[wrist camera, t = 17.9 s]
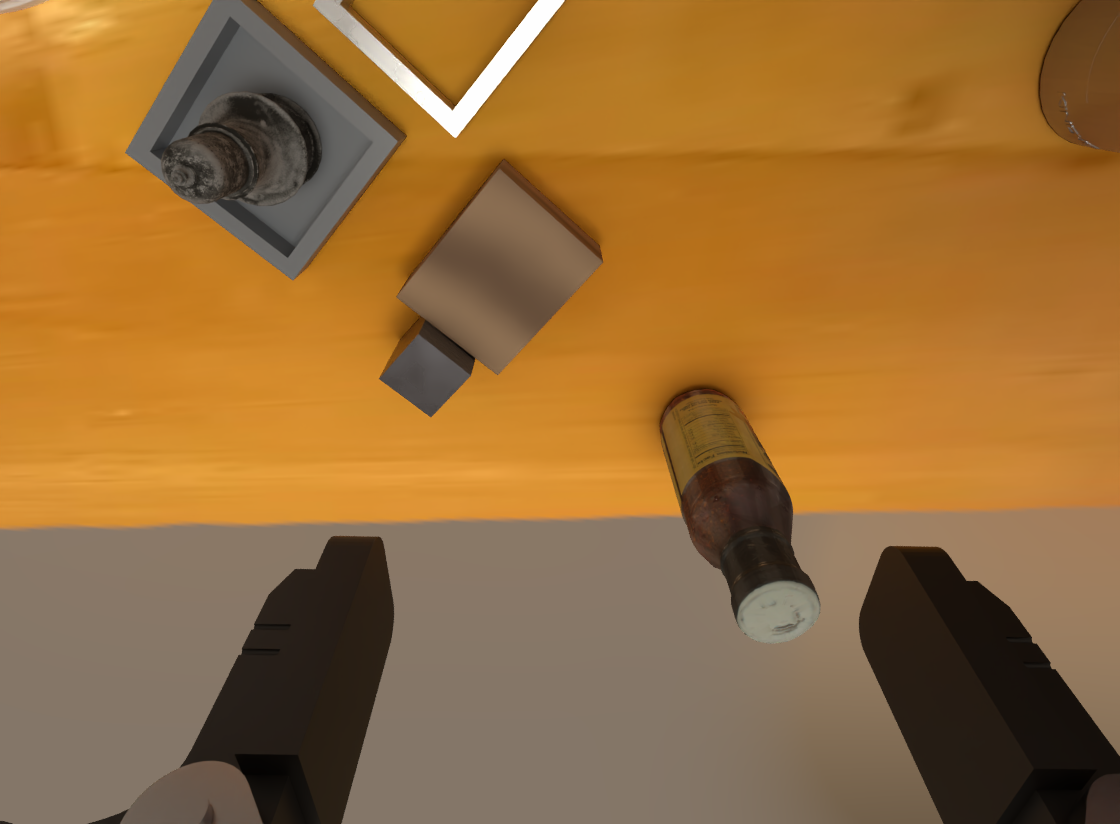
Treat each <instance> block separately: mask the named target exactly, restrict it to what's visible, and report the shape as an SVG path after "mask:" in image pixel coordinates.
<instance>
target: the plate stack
mask: <svg viewBox="0 0 1120 824" xmlns="http://www.w3.org/2000/svg"><path fill="white" fill-rule="evenodd" d="M47 1H49V0H0V14H3V13H10V12H14V11H19V10H23V9H27V8H30V7H33V6H36V5H39V4H42V3H44V2H47Z"/></svg>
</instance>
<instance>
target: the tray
mask: <svg viewBox="0 0 1120 824" xmlns="http://www.w3.org/2000/svg"><path fill="white" fill-rule="evenodd" d="M243 91H247V92H251V93H255V94H260V93H273V94H277V95H281V96H285V97H287V98H289V99H290V100H292V101H294V102H296V103H297V104H298V105H299V106H301V107H302V108H303V109H304V110H305V111H306V112H307V113H308V115H309V116H310V117H311V119H312V120H313V121H314V123H315V125H316V127H317V130H318V132H319V134H320V139H321V144H322V159H321V162H320V165H319V168H318V170H317V172H316V173H315V175H314V176H313V177H312V179H310V180H309V181H308V182H306V183H305V184H303V185H302V186H301V187H300V189H299V190H298V192H297V193H296V194H295V195H294V196H292V197H291V198H290V199H288V200H287V201H285V202H283V203H280V204H277V205H274V206H256V205H252V204H247V203H244V202H242V201H240V200H238V199H237V200H225V199H219V200H217V201H215V202H212V203H209V204H196V203H192V202H191V203H192V204H193V205H195V206H196V207H197V208H198V209H200V210H201V211H202V212H204V213H205V214H206V215H208V216H209V217H210V218H212V219H213V220H214V221H216V222H217V223H218V224H219V225H221V226H222V227H223V228H225V229H226V230H227V231H229V232H230V233H231V234H233V235H234V236H235V237H237V238H238V239H239V240H240V241H242V242H243V243H244V244H246V245H247V246H248V247H250V248H251V249H252V250H254V251H255V252H256V253H258V254H259V255H260V256H261V257H263V258H264V259H265V260H267V261H268V262H269V263H271V264H272V265H273V266H275V267H276V268H277V269H279V270H280V271H281V272H282V273H284V274H285V275H286V276H288V277H289V278H290V279H292V280H294V279H295V278H296V277H298V276H299V275H300V274H301V273H302V272H303V271H304V270H305V269H306V268H307V267H308V266H309V265H310V263H311V262H312V261H313V259H314V258H315V257H316V255H317V254H318V253H319V251H320V250H321V249H322V247H323V246H324V245H325V243H326V242H327V241H328V239H329V238H330V237H331V236H332V234H333V233H334V232H335V230H336V229H337V228H338V226H339V225H340V224H341V222H342V221H343V220H344V218H345V217H346V216H347V214H348V213H349V212H350V210H351V209H352V208H353V207H354V205H355V204H356V203H357V201H358V200H359V199H360V197H361V196H362V195H363V193H364V192H365V191H366V189H367V188H368V187H369V185H370V184H371V183H372V181H373V180H374V179H375V178H376V176H377V175H378V174H379V172H380V171H381V170H382V168H383V167H384V166H385V164H386V163H387V162H388V160H389V159H390V158H391V156H392V155H393V154H394V152H395V151H396V150H397V149H398V147H399V146H400V145H401V143H402V142H403V141H404V139H405V138H406V137H407V136H406V135H405V134H404V133H403V132H402V131H400V130H399V129H398V128H397V127H396V126H395V125H394V124H393V123H392V122H390V121H389V120H388V119H387V118H386V117H385V116H384V115H383V114H382V113H381V112H379V111H378V110H377V109H376V108H375V107H374V106H373V105H372V104H371V103H369V102H368V101H367V100H366V99H365V98H364V97H363V96H362V95H361V94H359V93H358V92H357V91H356V90H355V89H354V88H353V87H352V86H351V85H350V84H348V83H347V82H346V81H345V80H344V79H343V78H342V77H341V76H340V75H338V74H337V73H336V72H335V71H334V70H333V69H332V68H331V67H330V66H329V65H327V64H326V63H325V62H324V61H323V60H322V59H321V58H320V57H319V56H317V55H316V54H315V53H314V52H313V51H312V50H311V49H310V48H309V47H308V46H306V45H305V44H304V43H303V42H302V41H301V40H300V39H299V38H298V37H296V36H295V35H294V34H293V33H292V32H291V31H290V30H289V29H288V28H287V27H285V26H284V25H283V24H282V23H281V22H280V21H279V20H278V19H277V18H275V17H274V16H273V15H272V14H271V13H270V12H269V11H268V10H267V9H265V8H264V7H263V6H262V5H261V4H260V3H259V2H258V1H257V0H213V1H212V3H211V4H210V6H209V8H208V10H207V11H206V13H205V15H204V17H203V18H202V20H201V22H200V23H199V25H198V27H197V29H196V30H195V32H194V34H193V36H192V37H191V39H190V41H189V43H188V44H187V46H186V48H185V50H184V51H183V53H182V55H181V56H180V58H179V60H178V62H177V63H176V65H175V67H174V69H173V70H172V72H171V74H170V76H169V77H168V79H167V81H166V83H165V84H164V86H163V88H162V89H161V91H160V93H159V95H158V96H157V98H156V100H155V102H154V103H153V105H152V107H151V109H150V110H149V112H148V114H147V116H146V117H145V119H144V121H143V122H142V124H141V126H140V128H139V129H138V131H137V133H136V135H135V136H134V138H133V140H132V142H131V143H130V145H129V147H128V149H127V150H126V152H125V153H126V154H128V155H129V156H130V157H132V158H133V159H134V160H135V161H137V162H138V163H139V164H141V165H142V166H143V167H145V168H146V169H147V170H149V171H150V172H151V173H153V174H154V175H155V176H156V177H158V178H159V179H160V180H162V181H163V182H164V183H166V184H167V182H166V180H165V178H164V176H163V173H162V170H161V159H162V154H163V152H164V151H165V149H166V148H167V147H168V146H169V145H170V144H171V143H172V142H174V141H176V140H179V139H182V138H186V137H187V136H188V135H189V133H190V132H191V131H192V130H193V129H194V128H195V127H197V126H198V124H199V120H200V117H201V115H202V113H203V112H204V110H205V109H206V107H207V105H208V104H210V103H211V102H212V101H213V100H215V99H216V98H217V97H218V96H221V95H224V94H227V93H230V92H243ZM167 185H168V184H167Z"/></svg>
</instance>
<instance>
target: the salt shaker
mask: <svg viewBox="0 0 1120 824" xmlns="http://www.w3.org/2000/svg"><path fill="white" fill-rule="evenodd" d="M321 159H322V144H321V139H320V134H319V132H318V130H317V127H316V125H315V123H314V121H313V120H312V119H311V117H310V116H309V115H308V113H307V112H306V111H305V110H304V109H303V108H302V107H301V106H299V105H298V104H297V103H296V102H294V101H292V100H290V99H289V98H287V97H285V96H281V95H277V94H273V93H260V94H255V93H251V92H247V91H243V92H230V93H227V94H224V95H221V96H218V97H217V98H216V99H215V100H213V101H212V102H211V103H210V104H208V105H207V107H206V109H205V110H204V112H203V113H202V115H201V117H200V120H199V124H198V126H197V127H195V128H194V129H193V130H192V131H191V132H190V133H189V135H188V136H187V137H186V138H182V139H179V140H176V141H174V142H172V143H171V144H170V145H169V146H168V147H167V148H166V149H165V151H164V152H163V154H162V159H161V170H162V173H163V176H164V178H165V180H166V182H167V184H168V186H169V187H170V188H171V189H172V190H173V191H174V192H175V193H176V194H177V195H178V196H180V197H181V198H183V199H185V200H187V201H189V202H192V203H196V204H209V203H212V202H215V201H217V200H219V199H225V200H237V199H238V200H240V201H242V202H244V203H247V204H252V205H256V206H274V205H277V204H280V203H283V202H285V201H287V200H288V199H290V198H291V197H292V196H294V195H295V194H296V193H297V192H298V190H299V189H300V187H301V186H302V185H303V184H305V183H306V182H308V181H309V180H310V179H312V177H313V176H314V175H315V173H316V172H317V170H318V168H319V165H320V162H321Z"/></svg>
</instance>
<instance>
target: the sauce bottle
mask: <svg viewBox="0 0 1120 824" xmlns="http://www.w3.org/2000/svg"><path fill="white" fill-rule="evenodd" d="M660 432H661V443H662V447H663V451H664V455H665V458H666V462H667V465H668V469H669V472H670V475H671V479H672V482H673V486H674V489H675V493H676V496H677V499H678V503H679V506H680V510H681V513H682V516H683V519H684V521H685V523H686V525H687V527H688V530H689V534H690V538H691V540H692V542H693V544H694V546H695V547H696V549H697V551H698V552H699V553H700V554H701V555H702V556H703V557H704V558H705V559H706V560H707V561H708V562H709V563H710V564H711V565H713V567H715V568H718V569H721V571H722V573H723V575H724V576H725V578H726V580H727V583H728V586H729V589H730V592H731V605H732V609H733V612H734V615H735V619H736V621H737V624H738V626H739V628H740V629H741V630H742V631H743V632H744V633H745V634H746V635H747V636H749V637H750V638H752V639H753V640H756V641H759V642H764V643H781V642H787V641H789V640H792V639H794V638H796V637H798V636H800V635H802V634H803V633H804V632H806V631H807V630H808V629H809V628H811V627H812V626H813V625H814V623H815V621H816V620H817V619H818V617H819V614H820V602H819V598H818V595H817V592H816V591H815V587H814V585H813V583H812V581H811V580H810V578H809V576H808V575H807V574H806V573H804V572H803V571H802V570H801V568H800V566H799V564H798V562H797V560H796V558H795V556H794V551H793V548H792V546H791V534H792V520H793V507H792V502H791V498H790V496H789V494H788V492H787V490H786V488H785V486H784V484H783V482H782V481H781V479H780V477H779V476H778V474H777V472H776V470H775V468H774V466H773V465H772V463H771V461H770V459H769V457H768V456H767V454H766V452H765V450H764V448H763V447H762V445H761V443H760V442H759V440H758V438H757V436H756V434H755V433H754V431H753V429H752V427H751V425H750V423H749V422H748V420H747V418H746V416H745V415H744V413H743V411H742V410H741V409H740V407H739V406H738V405H737V404H736V403H735V402H733V401H732V400H731V399H729V398H728V397H727V396H726V395H724V394H722V393H720V392H717V391H715V390H711V389H700V390H694V391H691V392H686V393H685V394H682V395H679V396H678V397H676V398H675V399H674V400H673V401H672V402H671V404H670V405H669V406H668V407H667V409H666V411H665V413H664V415H663V418H662V419H661V422H660Z"/></svg>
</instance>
